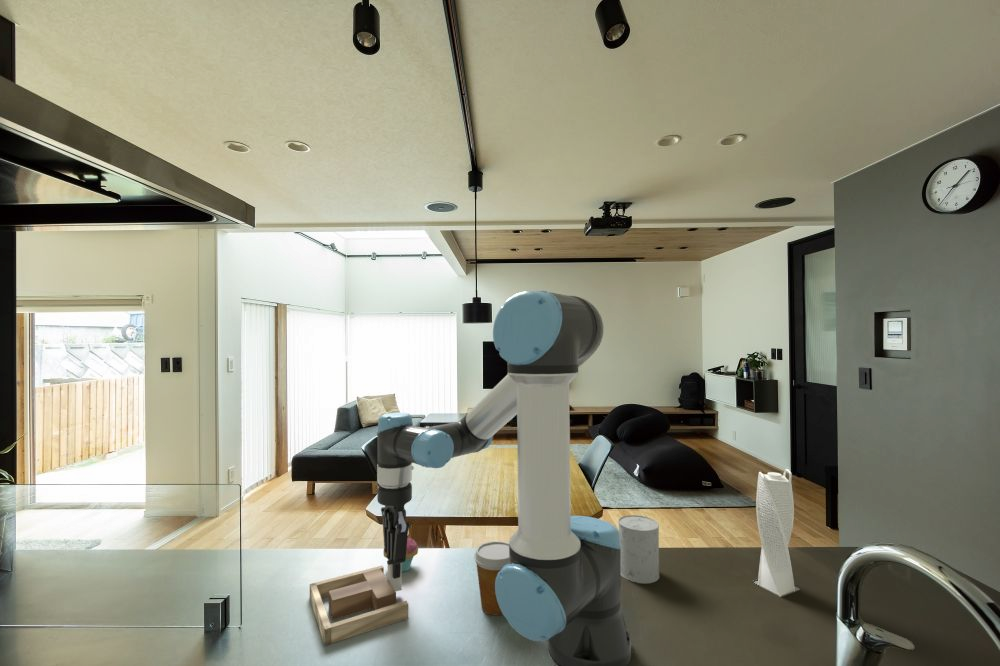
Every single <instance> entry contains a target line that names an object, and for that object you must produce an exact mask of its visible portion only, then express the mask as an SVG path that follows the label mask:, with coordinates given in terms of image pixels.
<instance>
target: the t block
mask: <svg viewBox="0 0 1000 666" xmlns="http://www.w3.org/2000/svg"><path fill="white" fill-rule="evenodd" d="M394 604H397V591H396V592H395V590H394V589H393V587H392V586H391V584H390V583H389V581H388V577H387V576H385V573H384V574H383V572H382V571H381V569H380V568H379V569H376V570H372V571H368V572H364V573H363V582H361V583H357V584H353V585H350V586H346V587H342V588H339V589H335V590H331V591H329V596H328V611H329V615H330V617H331V620H332V621H334V620H337V619H338V620H339V619H340V618H344V617H347V616H351V615H355V614H357V613H361V612H364V611H367V610H371V609H372V611H374V610H377V609H381V608H384V607H387V606H390V605H394Z"/></svg>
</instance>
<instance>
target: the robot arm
mask: <svg viewBox="0 0 1000 666" xmlns="http://www.w3.org/2000/svg"><path fill="white" fill-rule="evenodd" d="M492 328H493V329H492V339H493V344H494V347H495V350H496V351H498V352H499V353H498V355H499V356H500V358H502V359H503V360H504V361H505V362H506V363H507V374H506V375H505V376H504V377H503V378H502V379H501V380H500V381H499V382H498V383H497V384H496V385H494V387H493V388H492V389H491V390H490V391H489V392H488V393H487V394H485V395H484V396H483V398H482V399H481V400H480V401H478V403H477V404H475V405H474V407H473V408H472V409H471V410H470V411H469V412H468V413H467V414H465V415H464V416H463V417H462V418H461V419H460V420H457V421H455V422H450V423H448V422H447V423H445V424H444V423H443V424H440V425H434V426H428V427H422V426H415V425H413V424H414V423H413V417H412V415H411V414H410V413H407V412H389V413H385V414H381V415H380V416H379V418H378V419H377V420H378V423H377V432H376V436H377V438H376V439H377V440H376V441H377V443H376V444H377V467H376V468H377V471H376V472H377V473H376V477H377V478H376V479H377V480H376V482H377V484H378V485H377V491H376V492H377V498H376V500H377V502H378V504H380V506H382V507H381V508H380V511H381V518H382V531H383V532H382V533H383V551H384V552H385V553H387V558H386V559H387V561H386V563H387V580H388V581H389V583H390V584H391V586H392V587H393V589H394V590H395V592H396V593H397V592H399V591H402V587H403V586H402V581H403V580H402V573H403V572H402V562H405V560H406V549H407V538H408V537H409V536H408V535H409V530H410V524H411V523H410V521H407V522H406V518H407V511H406V509H405V505H406V504H408V503H410V502H411V501H412V498H413V484H412V479H413V477H412V476H413V475H412V474H413V472H412V471H413V470H414V469H415V467H414V465H413V464H416V465H418V466H421V467H424V468H428V469H429V468H432V469H440V468H443V467H445V466H446V464H448V462H450V461H451V460H452V459H454V458H456V457H460V456H465V455H469V454H473V453H474V454H475V453H479V452H480V451H482V450H486V449H487V448H488V447H490V445H491V444H492V441H493V440H494V435H495V434H496V433H498V431H500V430H501V429H502V428H503V427H504V426H505V425H507V423H509V422H510V421H512V420H513V418H515V417H516V419H517V420H516V421H517V423H516V424H517V430H516V431H517V439H516V440H517V520H518V521H517V522H518V523H517V525H518V527H517V530H516V531H515V532H514V533H513V534H512V535H511V536H510V537H509V540H508V541H509V542H508V543H509V564H507V565H505V566H504V567H503V568H502V569H501V571H500V572H499V573H498V575H497V577H496V581H495V593H496V598H497V602H498V605H499V607H500V609H501V612H502V613H503V614H502V615H503V616H504V618H505V619H506V621H507V623H508V624H509V625H510V626H511V628H512V629H514V631H515V632H517V633H518V634H519V635H521V636H522V637H524V638H525V639H527V640H530V641H533V642H544V641H547V650H548V652H549V655H550V656H551V657H552V659H553V660H554V661H555V662H556V663H557V664H558V665H559V666H628V665H629V663H630V661H631V658H632V641H631V636H630V633H629V632H628V628H627V624H626V622H625V620H626V619H625V618H624V615H623V611H622V609H621V608H622V607H621V605H622V604H621V603H622V602H621V599H622V598H621V596H622V595H621V594H622V593H621V592H622V591H621V589H622V588H621V585H622V583H621V578H622V576H621V546H620V534H619V529H618V528H617V527H616V526H615V525H613V524H612V523H611V522H608V521H606V520H604V519H600V518H597V517H592V516H586V515H585V516H583V515H572V514H571V513H572V508H571V507H572V506H571V500H572V499H571V431H570V426H571V425H570V422H571V420H570V384H571V383H572V381H573V380H575V378H576V377H577V376H578V375H579V368H580V367H581V366H582V365H583V364H584V363H586V361H588V360H589V359H590V358H591V357H592V356H593V355H594V354H595V352H596V351H598V348H599V347H600V346H601V344H602V340H603V337H604V322H603V317H602V315H601V314H600V312H599V310H598V309H597V307H596V306H595V305H593V303H591V302H590V301H588V300H587V299H585V298H583V297H580V296H576V295H567V294H561V293H557V292H549V291H547V290H524V291H520V292H517V293H515V294H513V295H512V296H510V297H509V298H508V299H506V301H505V302H504V303H503V305H501V307H500V308H499V309H498V312H497V314H496V316H495V319H494V322H493V327H492ZM388 559H389V560H388Z"/></svg>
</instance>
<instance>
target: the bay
mask: <svg viewBox="0 0 1000 666" xmlns="http://www.w3.org/2000/svg"><path fill="white" fill-rule="evenodd" d="M379 568H380V569H381V571H382V572H383V574H384V575H385V573H384V572H385V569H384V568H385V567H384V566H383V565H378V566H374V567H371V568H367V569H363V570H359V571H355V572H352V573H348V574H343V575H341V576H340V575H339V576H335V577H332V578H328V579H324V580H321V581H317V582H313V583H310V584H309V600H310V603H311V607H312V610H313V613H314V616H315V618H316V623H317V626H318V628H319V633H320V635H321V639H322V641H323V645H324V647H325V646H329V645H331V644H334V643H338V642H341V641H344V640H347V639H350V638H352V637H353V638H354V637H356V636H359V635H362V634H365V633H368V632H371V631H374V630H377V629H380V628H383V627H386V626H390V625H392V624H394V623H395V624H396V623H399V622H402V621H405V620H407V619H409V602H408V601H407V600H404V601H401V602H396V604H394V605H390V606H387V607H384V608H381V609H377V610H374V611H373V610H372V611H369V612H368V611H367V612H365V613H361V614H358V615H355V616H353V617H349V618H345V619H341V620H339V621H336V622H332V623H331V622H330V619H329V617H328V614H327V611H326V608H325V606H324V603H323V599H322V598H324V597H329V591H331V590H335V589H339V588H342V587H346V586H350V585H353V584H357V583H361V582H363V573H364V572H368V571H372V570H376V569H379Z"/></svg>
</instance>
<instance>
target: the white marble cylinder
mask: <svg viewBox="0 0 1000 666" xmlns="http://www.w3.org/2000/svg"><path fill="white" fill-rule="evenodd" d="M659 528H660V525H659V522H658V521H656V520H655V519H653V518H651V517H648V516H646V515H645V516H643V515H639V514H638V515H637V514H636V515H635V514H631V515H630V514H629V515H624V516H621V517H619V518H618V531H619V534H620V546H621V578H623V579H625V580H627V581H629V580H630V582H633V583H635V582H636V583H637V584H644V585H645V584H652V583H656V582H657V581H658V580H659V579H660V549H659V548H660V545H659V544H660V539H659V538H660V537H659V536H660V535H659Z"/></svg>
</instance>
